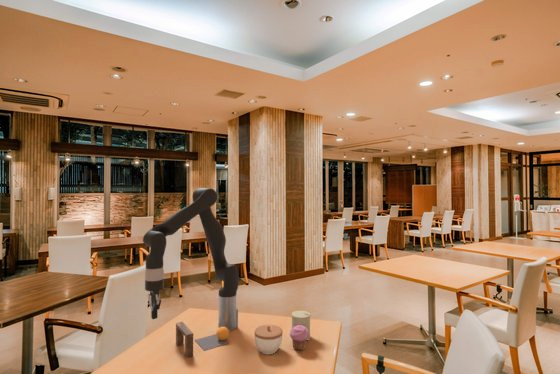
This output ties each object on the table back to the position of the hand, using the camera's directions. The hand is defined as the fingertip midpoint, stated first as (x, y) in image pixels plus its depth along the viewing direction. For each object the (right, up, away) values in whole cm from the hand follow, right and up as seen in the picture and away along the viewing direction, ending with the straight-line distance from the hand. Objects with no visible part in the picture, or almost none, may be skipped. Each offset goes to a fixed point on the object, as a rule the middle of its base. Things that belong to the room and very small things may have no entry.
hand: (154, 318), depth 139 cm
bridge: (+11, -17, +7) cm, 21 cm away
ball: (+26, -14, +17) cm, 34 cm away
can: (+64, -18, +20) cm, 69 cm away
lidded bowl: (+49, -17, +7) cm, 52 cm away
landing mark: (+21, -17, +15) cm, 31 cm away
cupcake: (+63, -18, +9) cm, 66 cm away
